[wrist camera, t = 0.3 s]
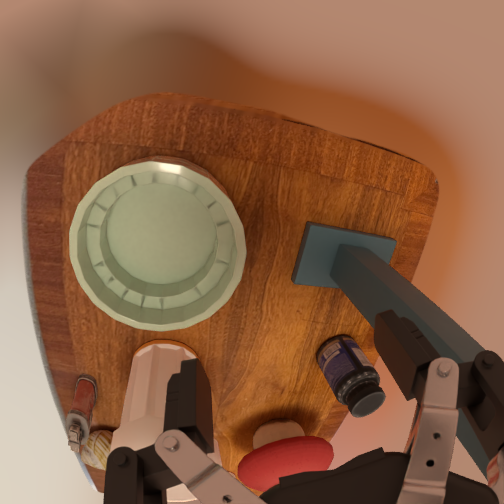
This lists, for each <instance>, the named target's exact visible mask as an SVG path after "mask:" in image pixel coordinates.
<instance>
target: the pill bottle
mask: <svg viewBox="0 0 504 504" xmlns="http://www.w3.org/2000/svg"><path fill="white" fill-rule="evenodd" d="M317 362H318V364H319V366H320V368H321V370H322V372H323V374H324V376H325V378H326V379H327V381H328V383H329V385H330V387H331V389H332V391H333V393H334V394H335V396H336V399H337V400H338V401H339V402H340V403H342V404H343V405H348V409H349V411H350V412H351V414H352V415H353V416H354V417H364V416H367V415H369V414H371V413H373V412H374V411H375V410H377V409H378V408H379V407H380V406H381V405H382V404H383V402H384V401H385V397H386V396H385V393H384V392H383V390H382V388H381V387H379V383H380V377H379V375H378V373H377V372H376V370H375V369H374V367H373V366H372V364H371V363H370V361H369V360H368V359H367V357H366V356H365V354H364V353H363V352H362V350H361V349H360V348H359V346H358V345H357V343H356V342H355V341H354V339H352V338H351V337H350V336H345V335H342V336H337V337H334V338H332V339H330V340H328V341H327V342H326V343H324V344H323V345H322V346H321V348H320V349H319V351H318V353H317Z"/></svg>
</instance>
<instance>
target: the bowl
mask: <svg viewBox="0 0 504 504" xmlns="http://www.w3.org/2000/svg"><path fill="white" fill-rule="evenodd" d="M69 242H70V259H71V262H72V265H73V268H74V271H75V274H76V277H77V280H78V282H79V284H80V285H81V287H82V288H83V290H84V291H85V292H86V294H87V295H88V297H89V298H90V299H91V301H92V302H93V303H94V304H95V305H96V306H98V307H99V308H100V309H102V310H103V311H104V312H105V313H107V314H108V315H109V316H111V317H112V318H114V319H115V320H118V321H120V322H123V323H125V324H127V325H130V326H132V327H135V328H138V329H145V330H153V331H169V330H176V329H183V328H187V327H190V326H192V325H194V324H196V323H198V322H201V321H203V320H205V319H207V318H209V317H210V316H211V315H213V314H214V313H215V312H216V311H217V310H218V309H220V308H221V307H222V306H223V305H224V304H225V303H226V302H227V301H228V300H229V299H230V297H231V295H232V294H233V292H234V290H235V289H236V287H237V285H238V284H239V282H240V280H241V278H242V273H243V269H244V264H245V260H246V254H247V251H246V243H245V234H244V227H243V224H242V222H241V220H240V218H239V216H238V214H237V212H236V210H235V208H234V206H233V204H232V202H231V200H230V198H229V196H228V194H227V192H226V190H225V188H224V187H223V186H222V185H221V184H220V183H219V182H218V181H217V180H216V179H215V178H214V177H213V176H212V175H211V174H210V173H209V172H208V171H207V170H206V169H204V168H202V167H200V166H198V165H196V164H194V163H192V162H190V161H188V160H186V159H183V158H176V157H169V156H162V155H156V156H151V157H146V158H141V159H136V160H133V161H131V162H129V163H127V164H125V165H124V166H122V167H120V168H118V169H117V170H115V171H113V172H112V173H110V174H109V175H107V176H105V177H104V178H102V179H101V180H99V181H97V182H96V183H95V184H94V185H93V186H92V188H91V189H90V190H89V191H88V193H87V194H86V195H85V197H84V198H83V199H82V200H81V202H80V203H79V205H78V206H77V209H76V212H75V215H74V218H73V221H72V224H71V227H70V231H69Z"/></svg>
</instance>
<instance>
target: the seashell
mask: <svg viewBox="0 0 504 504" xmlns="http://www.w3.org/2000/svg"><path fill="white" fill-rule="evenodd" d="M112 437H113V433H112V432H110V431H108V430H99V431H95V432H93V433H91V434H90V435H89V437H88V440H87V442H86V444H85V446H84V447H83V449H82V454H81V460H82V461H83V462H84V463H86V464H88V465H91V466H92V467H94V468H98V469H103V470H106V464H107V458H108V456H109V454H110V449H111V443H112Z"/></svg>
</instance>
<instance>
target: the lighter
mask: <svg viewBox="0 0 504 504" xmlns="http://www.w3.org/2000/svg"><path fill="white" fill-rule="evenodd" d="M96 399H97V384H96V380H95V379H94V378H93V377H92V376H90V375H87V374H82V375H80V376H79V379H78V381H77V384H76V389H75V396H74V399H73V403H72V406H71V410H70V411H69V412H68V415H67V419H66V432H67V435H68V440H69V441H68V445H69V446H70V447H71V450H72V451H74V452H79V449H80V446H81V445H84V444H86V442H87V440H88V437H89V432H90V426H91V421H92V416H93V414H92V411H93V408H94V406H95V403H96Z"/></svg>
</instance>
